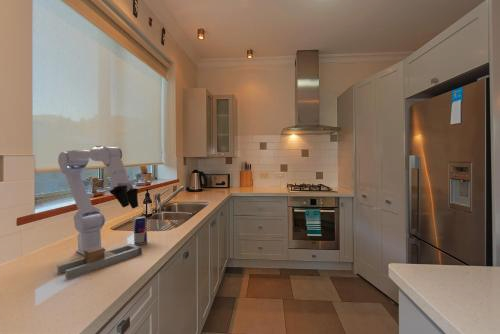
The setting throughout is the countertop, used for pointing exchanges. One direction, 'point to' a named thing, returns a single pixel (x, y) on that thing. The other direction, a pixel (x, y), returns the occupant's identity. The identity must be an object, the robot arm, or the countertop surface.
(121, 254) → the channel
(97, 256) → the block
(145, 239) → the energy drink
